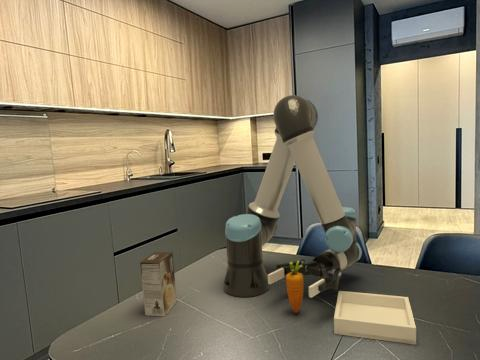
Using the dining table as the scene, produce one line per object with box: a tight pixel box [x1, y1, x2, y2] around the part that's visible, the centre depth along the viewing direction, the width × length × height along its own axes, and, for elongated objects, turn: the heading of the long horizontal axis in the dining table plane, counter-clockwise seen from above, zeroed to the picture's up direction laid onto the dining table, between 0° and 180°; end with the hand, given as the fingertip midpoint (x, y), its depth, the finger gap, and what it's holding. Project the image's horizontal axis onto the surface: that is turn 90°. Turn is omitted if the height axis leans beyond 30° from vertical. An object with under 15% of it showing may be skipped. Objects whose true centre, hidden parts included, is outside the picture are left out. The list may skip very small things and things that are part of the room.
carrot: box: [285, 260, 304, 314], centre depth 95 cm, size 5×5×15 cm
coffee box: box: [139, 251, 178, 317], centre depth 102 cm, size 9×6×16 cm
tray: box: [333, 290, 417, 346], centre depth 89 cm, size 18×16×4 cm
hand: (288, 285), depth 93 cm, fingers open, 13 cm apart
